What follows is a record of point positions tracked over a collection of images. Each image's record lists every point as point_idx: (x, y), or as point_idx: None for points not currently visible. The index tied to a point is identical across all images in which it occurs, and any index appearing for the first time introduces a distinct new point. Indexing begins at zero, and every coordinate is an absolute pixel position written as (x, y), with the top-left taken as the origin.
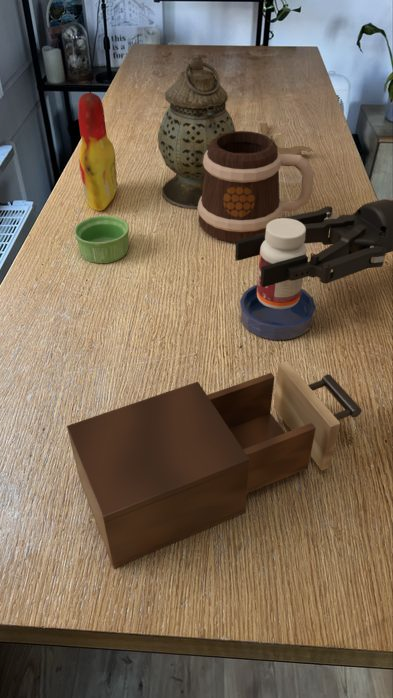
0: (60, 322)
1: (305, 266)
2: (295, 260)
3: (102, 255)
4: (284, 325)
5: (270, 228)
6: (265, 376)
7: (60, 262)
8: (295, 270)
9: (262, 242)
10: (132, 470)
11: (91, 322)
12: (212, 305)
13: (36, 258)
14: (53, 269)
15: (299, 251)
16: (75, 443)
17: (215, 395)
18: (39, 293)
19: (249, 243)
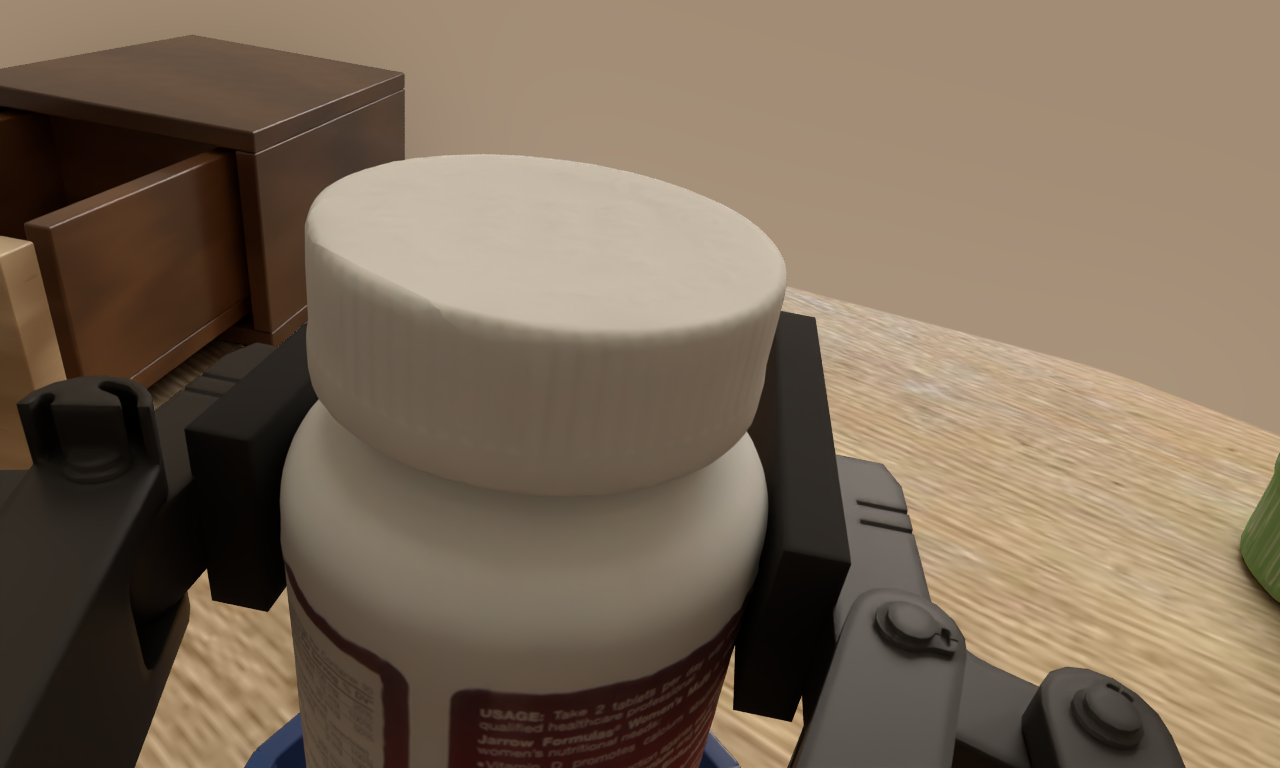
0: (898, 373)
1: (172, 424)
2: (280, 358)
3: (1257, 519)
4: (299, 725)
5: (639, 183)
6: (62, 215)
7: (1248, 481)
8: (228, 358)
9: (765, 465)
10: (210, 55)
11: (869, 407)
12: (801, 706)
13: (1273, 453)
14: (1198, 455)
15: (326, 421)
16: (355, 64)
17: (188, 161)
18: (1056, 394)
19: (769, 374)
